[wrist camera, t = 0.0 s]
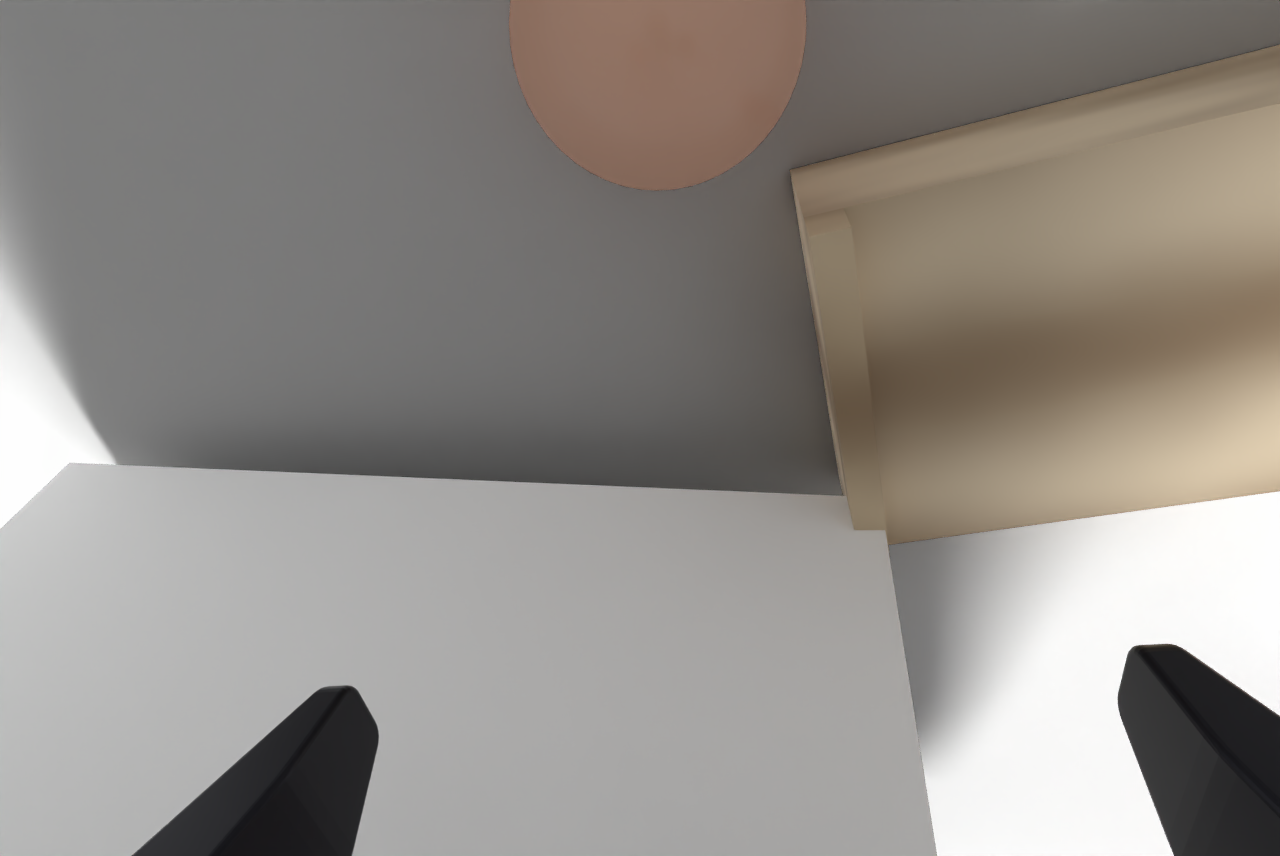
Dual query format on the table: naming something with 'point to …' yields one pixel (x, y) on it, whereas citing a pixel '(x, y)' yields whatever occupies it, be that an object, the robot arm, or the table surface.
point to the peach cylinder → (657, 81)
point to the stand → (1055, 307)
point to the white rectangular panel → (460, 662)
